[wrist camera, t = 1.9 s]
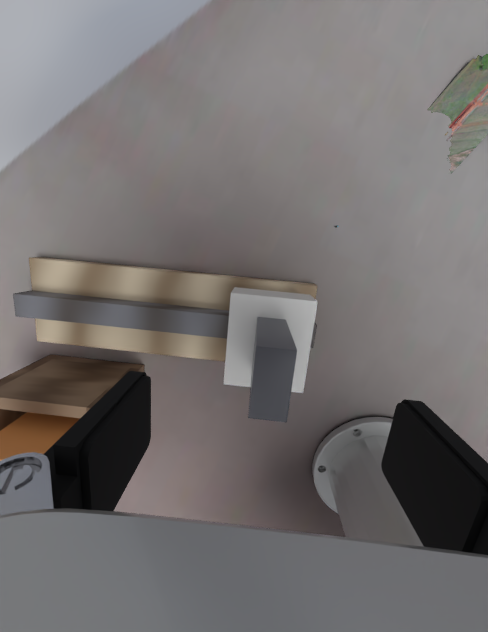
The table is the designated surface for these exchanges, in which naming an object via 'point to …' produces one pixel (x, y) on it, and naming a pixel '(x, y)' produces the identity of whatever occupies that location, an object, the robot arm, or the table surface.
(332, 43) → the table surface
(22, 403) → the brown wooden box
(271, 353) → the carriage
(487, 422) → the table surface
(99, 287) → the rail base
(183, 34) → the table surface
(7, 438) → the plunger
